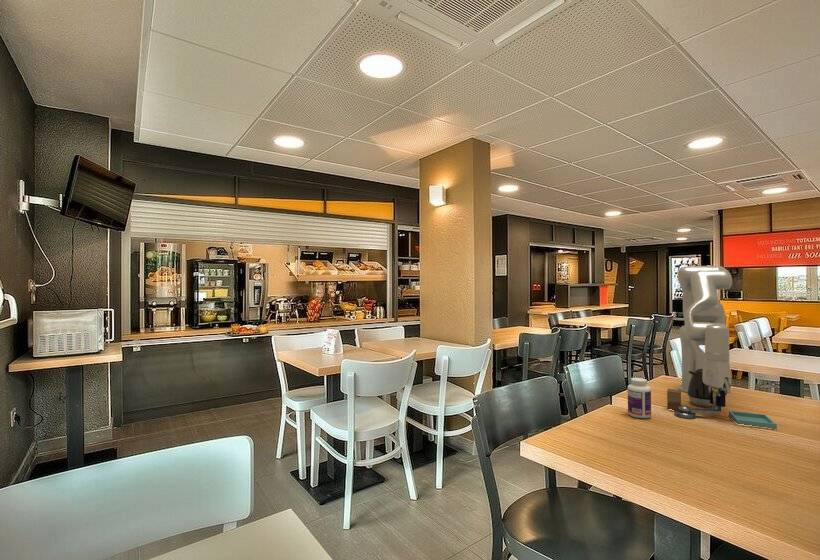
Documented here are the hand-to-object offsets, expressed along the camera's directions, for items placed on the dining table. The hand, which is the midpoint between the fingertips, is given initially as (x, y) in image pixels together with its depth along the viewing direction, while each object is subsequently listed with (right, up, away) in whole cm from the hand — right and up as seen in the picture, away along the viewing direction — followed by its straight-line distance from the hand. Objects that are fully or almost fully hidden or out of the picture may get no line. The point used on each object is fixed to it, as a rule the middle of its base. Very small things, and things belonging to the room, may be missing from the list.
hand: (717, 404), depth 157 cm
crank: (-6, -3, +1) cm, 7 cm away
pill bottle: (-28, -6, +3) cm, 29 cm away
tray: (+9, -5, -5) cm, 11 cm away
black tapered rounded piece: (+6, -5, +17) cm, 19 cm away
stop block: (-10, -5, +10) cm, 15 cm away
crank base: (-11, -5, +3) cm, 12 cm away
